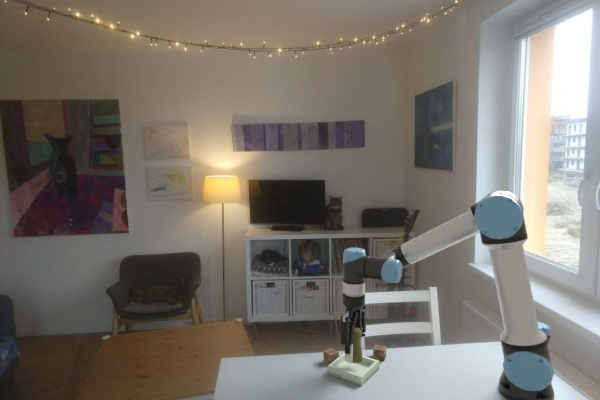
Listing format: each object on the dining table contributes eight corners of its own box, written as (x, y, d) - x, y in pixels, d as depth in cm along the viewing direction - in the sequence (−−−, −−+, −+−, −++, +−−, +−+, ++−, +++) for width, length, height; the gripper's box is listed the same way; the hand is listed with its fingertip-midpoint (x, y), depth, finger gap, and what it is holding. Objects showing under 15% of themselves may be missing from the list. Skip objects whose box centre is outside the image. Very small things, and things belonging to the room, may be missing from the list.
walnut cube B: (338, 362, 147) (338, 352, 146) (330, 365, 145) (330, 355, 144) (332, 358, 150) (332, 348, 150) (323, 361, 148) (323, 350, 148)
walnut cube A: (386, 356, 151) (386, 346, 151) (384, 361, 147) (384, 350, 147) (375, 354, 153) (375, 344, 152) (373, 359, 149) (373, 349, 149)
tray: (379, 369, 142) (379, 360, 142) (361, 386, 132) (361, 377, 131) (347, 358, 150) (347, 350, 149) (328, 373, 139) (328, 365, 139)
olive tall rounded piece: (362, 363, 137) (362, 332, 135) (344, 362, 138) (344, 331, 137) (363, 355, 142) (363, 325, 141) (346, 353, 144) (346, 324, 143)
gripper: (357, 284, 147) (357, 344, 150) (329, 299, 132) (329, 366, 135) (376, 288, 143) (375, 350, 145) (349, 304, 128) (349, 373, 130)
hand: (353, 357), depth 140 cm, fingers closed on olive tall rounded piece, 6 cm apart
